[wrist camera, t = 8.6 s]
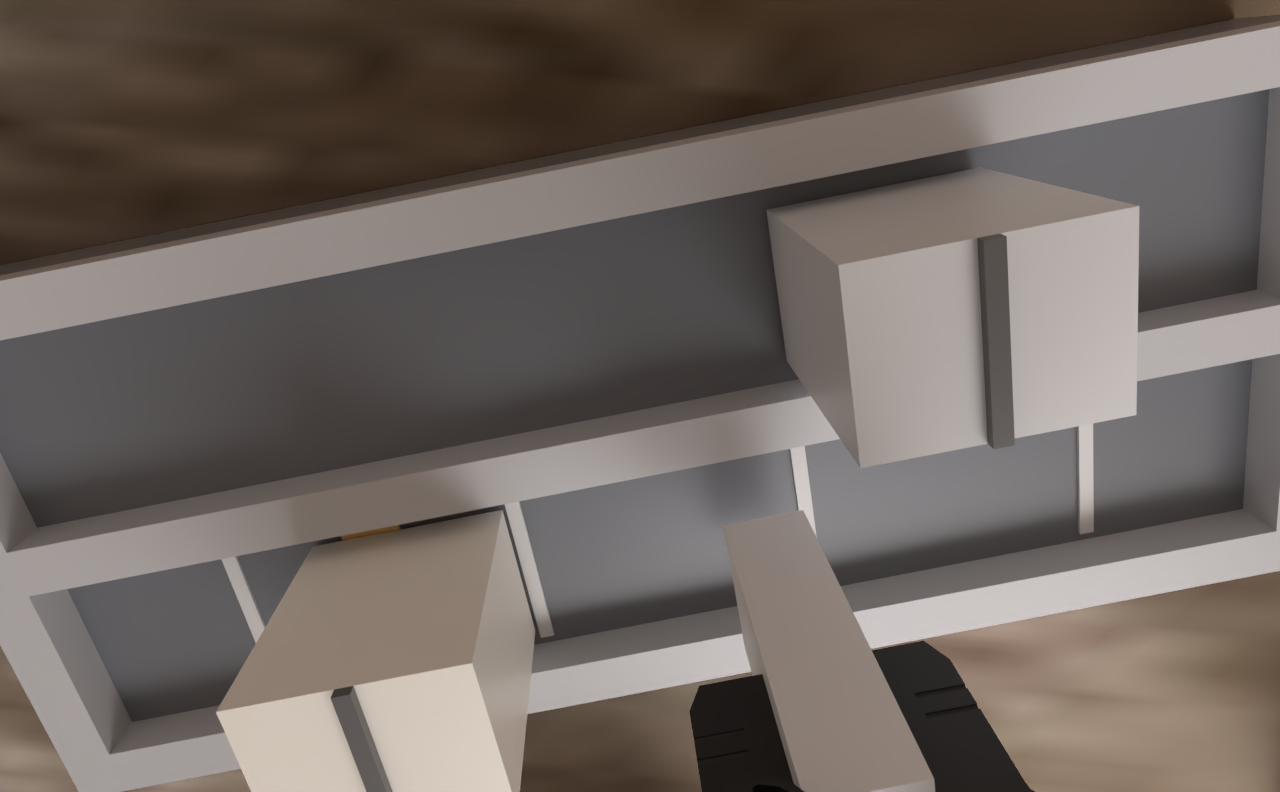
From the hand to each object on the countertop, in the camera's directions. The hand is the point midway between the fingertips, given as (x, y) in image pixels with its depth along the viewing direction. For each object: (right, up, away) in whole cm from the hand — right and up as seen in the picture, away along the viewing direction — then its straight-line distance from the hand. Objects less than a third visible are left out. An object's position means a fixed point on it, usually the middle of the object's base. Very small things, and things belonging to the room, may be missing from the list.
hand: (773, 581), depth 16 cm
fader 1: (-7, -1, +2) cm, 7 cm away
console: (-3, +4, +4) cm, 6 cm away
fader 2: (+2, +6, 0) cm, 6 cm away
